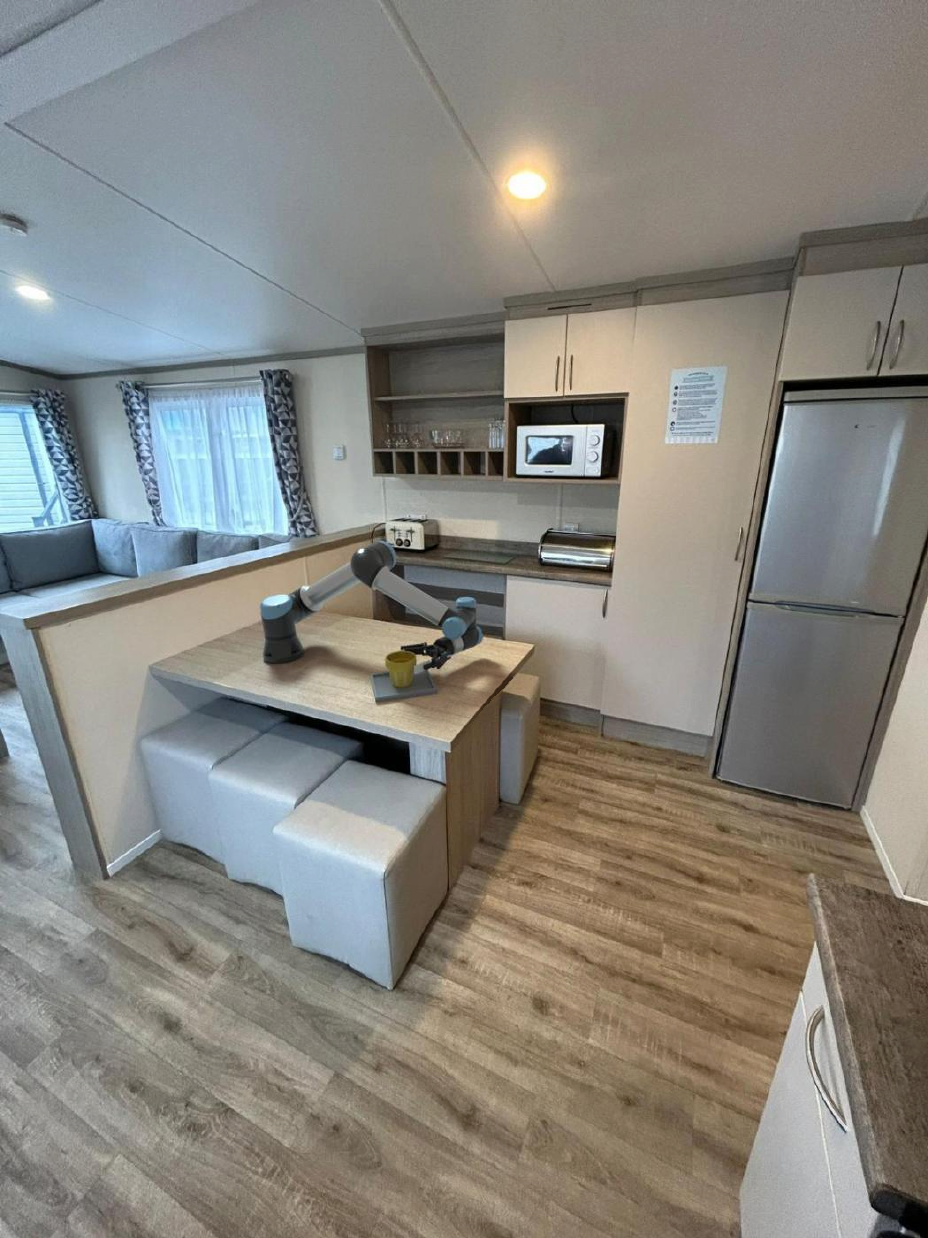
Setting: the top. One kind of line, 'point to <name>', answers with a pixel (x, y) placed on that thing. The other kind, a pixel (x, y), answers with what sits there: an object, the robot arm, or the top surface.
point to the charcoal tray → (388, 691)
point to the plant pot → (401, 667)
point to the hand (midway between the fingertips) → (401, 664)
